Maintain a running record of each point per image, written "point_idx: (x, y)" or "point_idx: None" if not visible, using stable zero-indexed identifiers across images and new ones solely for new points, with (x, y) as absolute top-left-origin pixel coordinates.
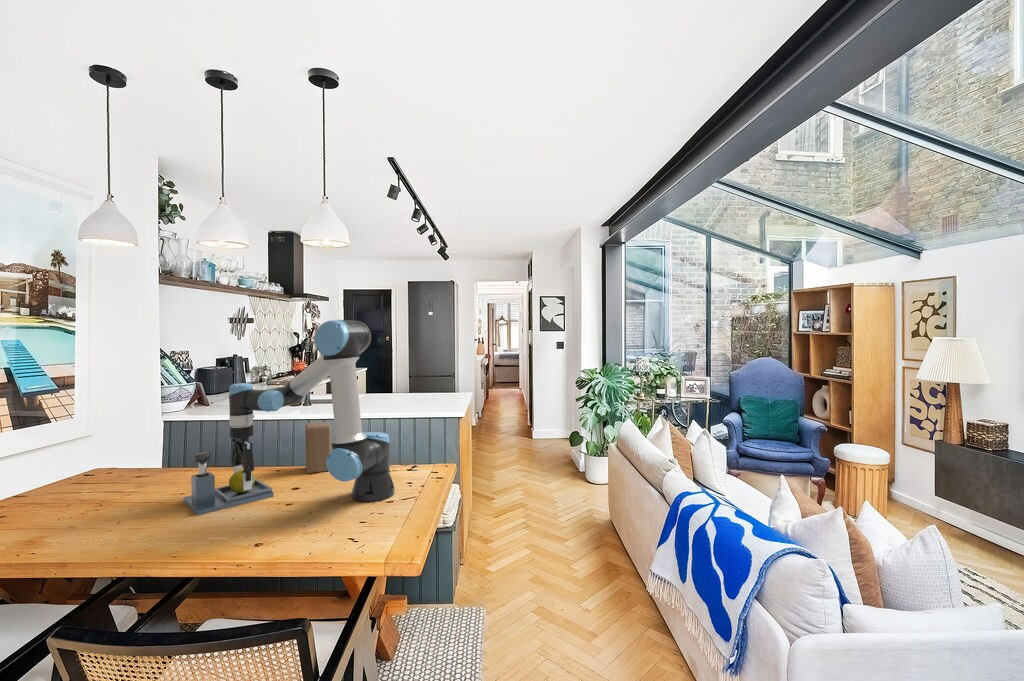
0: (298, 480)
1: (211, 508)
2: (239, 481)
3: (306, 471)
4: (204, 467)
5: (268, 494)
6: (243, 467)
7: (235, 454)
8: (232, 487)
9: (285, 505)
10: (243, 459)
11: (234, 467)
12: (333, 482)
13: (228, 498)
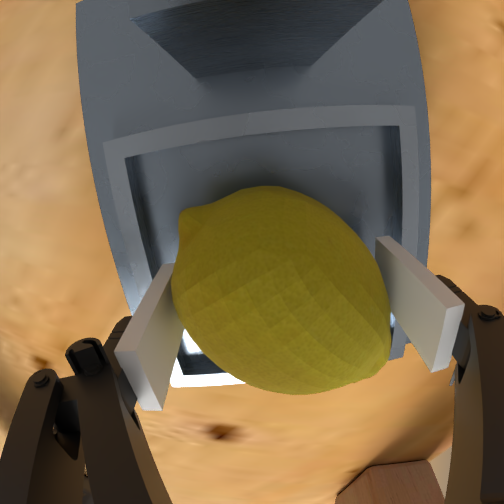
0: (320, 449)
1: (80, 64)
2: (173, 272)
3: (375, 469)
4: None
5: None
6: (108, 397)
7: (495, 450)
8: (213, 203)
9: (36, 354)
10: (92, 490)
11: (443, 308)
12: (212, 491)
13: (105, 155)
